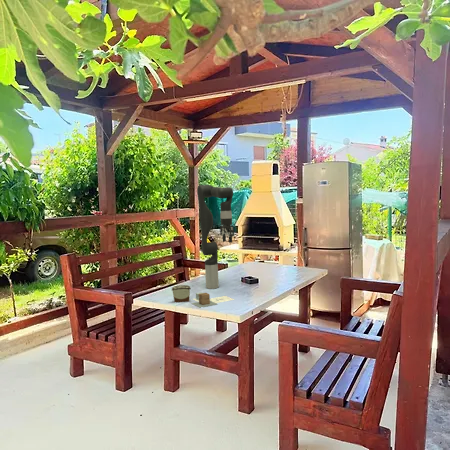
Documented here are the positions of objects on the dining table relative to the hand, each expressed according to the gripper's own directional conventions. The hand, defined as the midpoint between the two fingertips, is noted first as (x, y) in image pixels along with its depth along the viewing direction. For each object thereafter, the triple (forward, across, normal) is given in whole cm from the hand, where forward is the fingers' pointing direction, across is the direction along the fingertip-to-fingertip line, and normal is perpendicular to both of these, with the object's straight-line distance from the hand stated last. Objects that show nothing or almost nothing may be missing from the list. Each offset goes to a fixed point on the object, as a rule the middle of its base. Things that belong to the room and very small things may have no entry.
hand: (227, 242), depth 257 cm
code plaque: (+36, -8, +12) cm, 39 cm away
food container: (+36, +5, +32) cm, 49 cm away
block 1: (+35, +1, +22) cm, 41 cm away
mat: (+36, -11, +24) cm, 45 cm away
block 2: (+35, -11, +24) cm, 44 cm away
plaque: (+36, +1, +22) cm, 42 cm away
